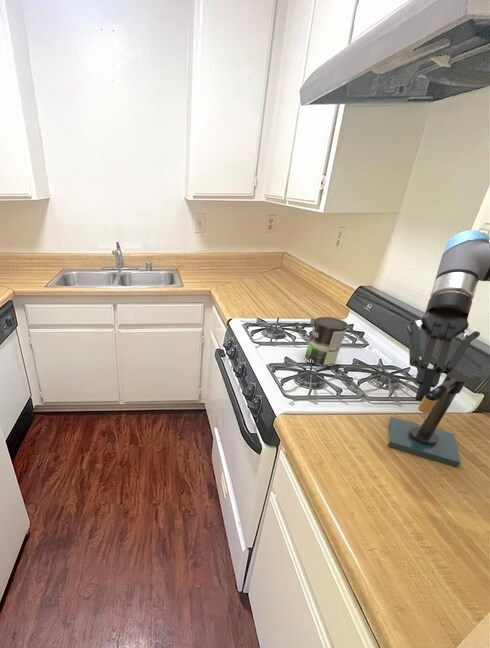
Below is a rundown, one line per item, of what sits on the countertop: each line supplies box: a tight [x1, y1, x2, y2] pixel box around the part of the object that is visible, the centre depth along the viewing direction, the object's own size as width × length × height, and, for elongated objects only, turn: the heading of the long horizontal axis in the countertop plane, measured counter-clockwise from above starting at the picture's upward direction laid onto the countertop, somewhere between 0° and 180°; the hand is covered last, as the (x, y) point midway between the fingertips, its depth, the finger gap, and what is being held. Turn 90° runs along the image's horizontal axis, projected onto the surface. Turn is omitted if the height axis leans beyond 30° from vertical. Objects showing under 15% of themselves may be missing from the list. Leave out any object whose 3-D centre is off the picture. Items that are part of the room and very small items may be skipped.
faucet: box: [387, 392, 462, 468], centre depth 81 cm, size 14×12×15 cm
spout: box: [417, 373, 468, 414], centre depth 73 cm, size 15×4×4 cm, turn 126°
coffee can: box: [304, 316, 349, 366], centre depth 118 cm, size 10×10×14 cm
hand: (421, 398), depth 73 cm, fingers closed
